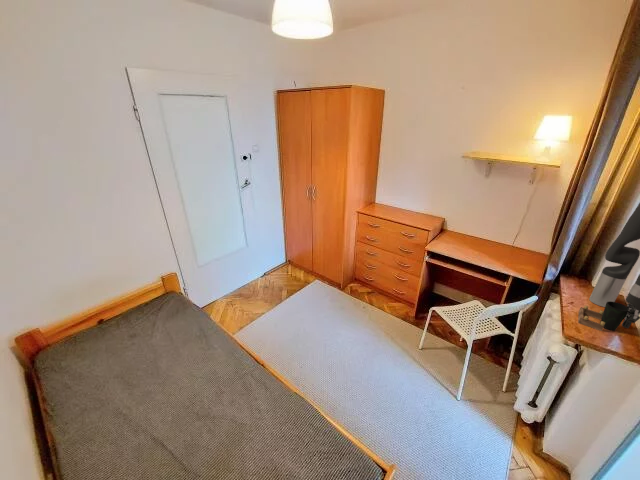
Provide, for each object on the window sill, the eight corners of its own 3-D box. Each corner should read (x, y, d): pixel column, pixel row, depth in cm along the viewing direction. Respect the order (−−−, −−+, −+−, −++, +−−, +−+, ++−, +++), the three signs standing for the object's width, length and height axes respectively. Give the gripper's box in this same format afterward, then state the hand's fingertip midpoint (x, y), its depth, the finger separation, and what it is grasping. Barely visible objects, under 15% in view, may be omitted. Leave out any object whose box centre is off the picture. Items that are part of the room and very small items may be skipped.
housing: (578, 311, 141) (581, 304, 139) (600, 318, 135) (604, 311, 134) (578, 323, 132) (581, 315, 130) (601, 331, 127) (605, 323, 125)
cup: (596, 319, 135) (606, 299, 130) (618, 326, 130) (629, 305, 125) (596, 327, 129) (607, 306, 125) (619, 335, 125) (631, 313, 120)
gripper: (627, 286, 126) (612, 316, 132) (631, 297, 117) (614, 330, 123) (651, 292, 121) (634, 323, 128) (658, 304, 112) (639, 338, 118)
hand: (624, 326), depth 125 cm, fingers closed
